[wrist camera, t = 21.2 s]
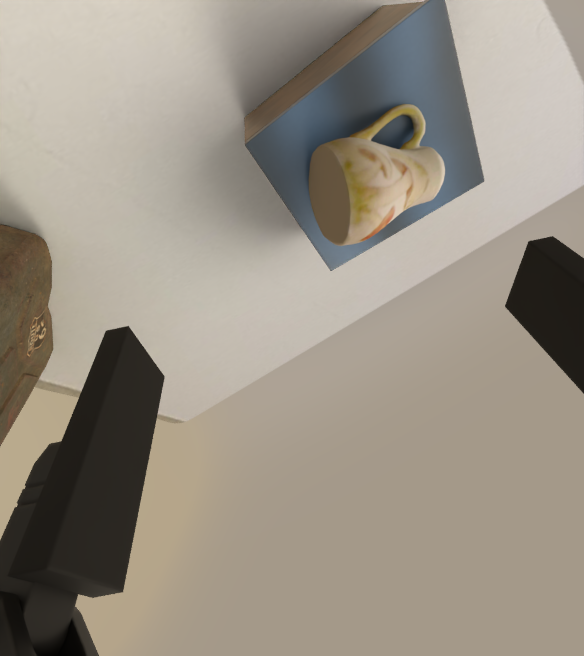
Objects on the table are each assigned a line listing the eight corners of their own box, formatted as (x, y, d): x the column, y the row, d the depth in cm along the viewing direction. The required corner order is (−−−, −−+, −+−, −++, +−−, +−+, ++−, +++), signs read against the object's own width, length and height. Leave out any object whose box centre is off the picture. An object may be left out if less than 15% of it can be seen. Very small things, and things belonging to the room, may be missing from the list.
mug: (430, 202, 30) (411, 284, 24) (325, 178, 31) (286, 249, 26) (469, 110, 23) (453, 193, 18) (334, 86, 25) (285, 155, 20)
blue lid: (437, -10, 21) (443, -11, 20) (480, 178, 29) (485, 181, 29) (244, 141, 25) (244, 144, 25) (329, 267, 34) (330, 271, 33)
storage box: (383, 5, 27) (423, 1, 21) (430, 155, 36) (469, 184, 29) (244, 117, 31) (244, 141, 25) (316, 229, 40) (329, 266, 34)
